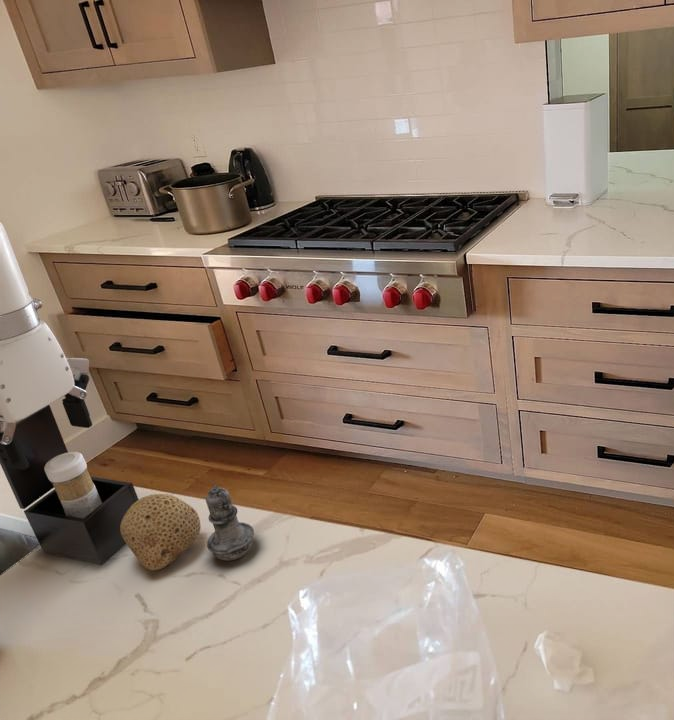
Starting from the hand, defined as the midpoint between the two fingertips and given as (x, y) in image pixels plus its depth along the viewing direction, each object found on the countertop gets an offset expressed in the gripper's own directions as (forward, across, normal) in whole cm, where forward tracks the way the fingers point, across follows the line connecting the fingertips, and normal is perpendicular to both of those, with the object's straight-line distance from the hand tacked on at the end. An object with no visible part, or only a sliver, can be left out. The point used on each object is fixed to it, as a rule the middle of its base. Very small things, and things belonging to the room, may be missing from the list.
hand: (51, 445), depth 87 cm
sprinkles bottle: (+16, -1, 0) cm, 16 cm away
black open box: (+17, -1, 0) cm, 17 cm away
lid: (+3, 0, -4) cm, 5 cm away
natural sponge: (+17, -1, +14) cm, 21 cm away
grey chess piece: (+17, -3, +22) cm, 28 cm away
